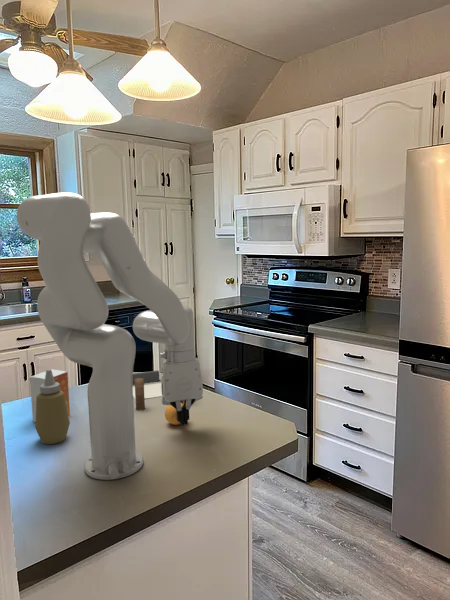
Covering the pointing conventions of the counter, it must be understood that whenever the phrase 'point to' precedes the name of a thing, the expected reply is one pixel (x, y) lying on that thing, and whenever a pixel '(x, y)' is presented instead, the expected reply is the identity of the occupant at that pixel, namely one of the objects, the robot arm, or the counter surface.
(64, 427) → the squeeze bottle
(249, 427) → the counter surface
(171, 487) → the counter surface
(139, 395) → the left post
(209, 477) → the counter surface
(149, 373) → the stopper wall
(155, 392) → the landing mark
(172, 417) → the ball
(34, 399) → the small box
